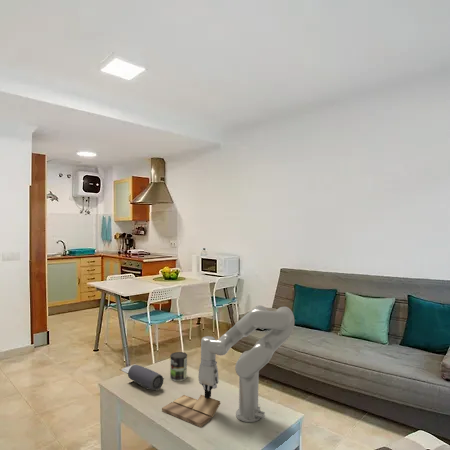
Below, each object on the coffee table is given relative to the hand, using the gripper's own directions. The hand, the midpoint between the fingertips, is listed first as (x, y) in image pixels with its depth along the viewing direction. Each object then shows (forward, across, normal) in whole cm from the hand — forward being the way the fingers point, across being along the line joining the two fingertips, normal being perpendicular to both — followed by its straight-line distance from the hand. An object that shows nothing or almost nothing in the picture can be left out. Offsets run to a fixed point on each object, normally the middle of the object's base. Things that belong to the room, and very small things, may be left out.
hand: (207, 397), depth 180 cm
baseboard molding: (+7, +60, -8) cm, 60 cm away
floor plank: (+6, +5, +11) cm, 13 cm away
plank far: (+6, +12, +3) cm, 13 cm away
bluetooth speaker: (+6, +46, +1) cm, 46 cm away
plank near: (+3, -1, +2) cm, 4 cm away
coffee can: (+6, +38, -19) cm, 43 cm away
